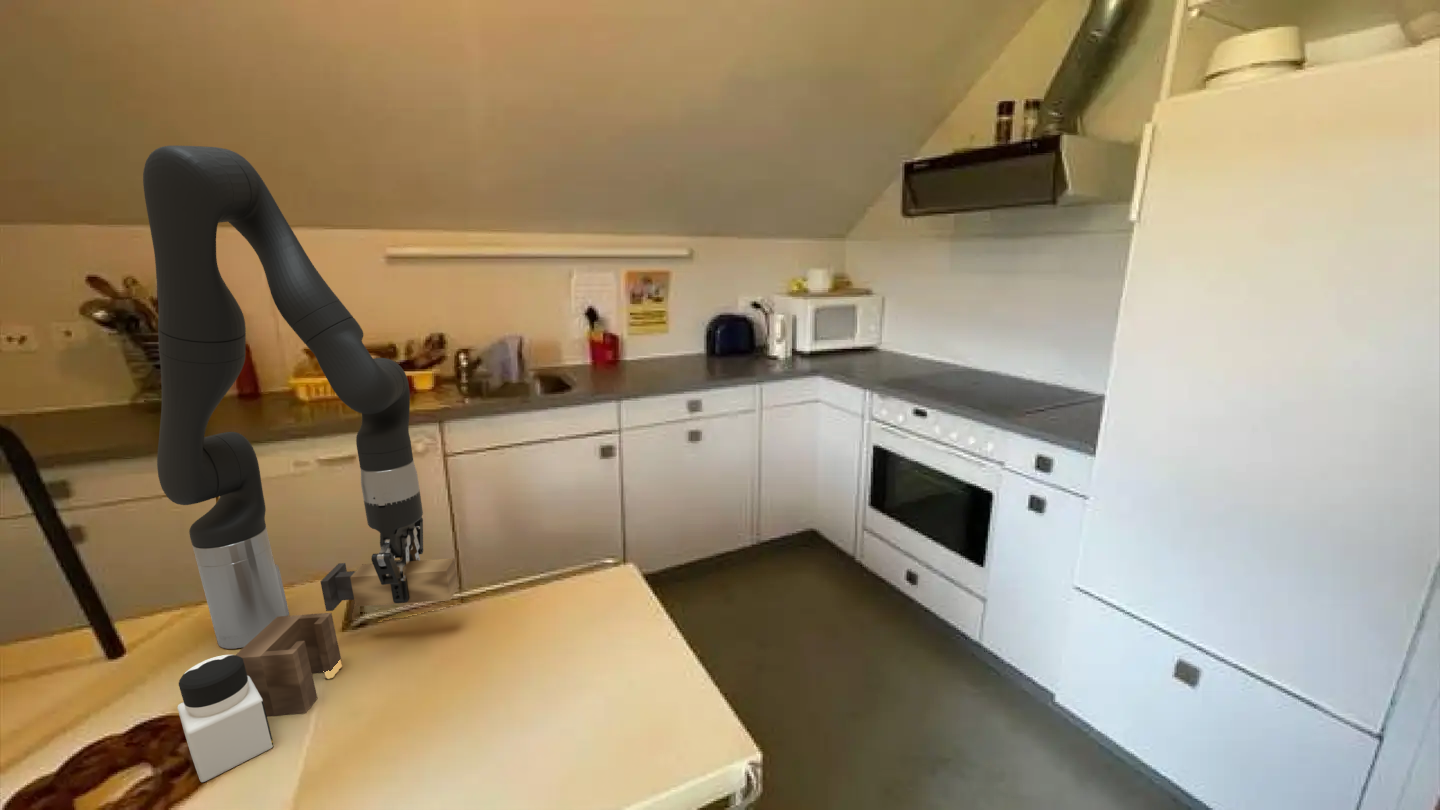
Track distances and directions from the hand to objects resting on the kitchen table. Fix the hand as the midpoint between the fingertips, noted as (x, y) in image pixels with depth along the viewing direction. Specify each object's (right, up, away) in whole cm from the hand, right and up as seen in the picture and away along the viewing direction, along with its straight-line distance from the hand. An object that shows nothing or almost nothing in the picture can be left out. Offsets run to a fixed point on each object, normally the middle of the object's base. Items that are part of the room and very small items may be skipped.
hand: (407, 593), depth 96 cm
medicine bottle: (-11, -13, -21) cm, 27 cm away
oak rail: (-2, -1, 0) cm, 2 cm away
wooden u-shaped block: (-10, -10, -10) cm, 18 cm away
